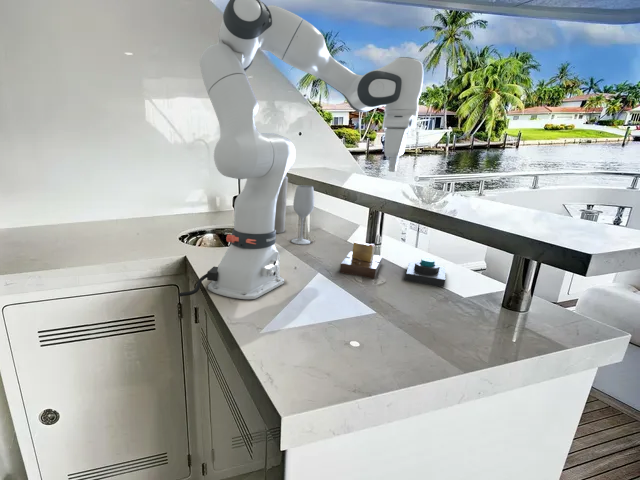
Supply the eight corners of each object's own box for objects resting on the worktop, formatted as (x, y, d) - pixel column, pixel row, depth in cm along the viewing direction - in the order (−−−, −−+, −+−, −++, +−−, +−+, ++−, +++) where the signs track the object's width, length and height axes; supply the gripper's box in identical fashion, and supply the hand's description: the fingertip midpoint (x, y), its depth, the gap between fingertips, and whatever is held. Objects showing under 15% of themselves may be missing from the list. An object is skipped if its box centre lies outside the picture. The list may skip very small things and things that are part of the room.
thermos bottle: (261, 230, 160) (264, 162, 151) (272, 227, 166) (276, 161, 157) (277, 234, 156) (281, 163, 146) (288, 230, 161) (292, 162, 152)
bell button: (433, 268, 108) (435, 262, 108) (420, 266, 110) (421, 260, 109) (434, 264, 111) (435, 259, 111) (420, 262, 113) (421, 257, 112)
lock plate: (374, 278, 110) (376, 268, 108) (339, 272, 114) (340, 262, 113) (381, 265, 121) (382, 255, 120) (349, 259, 126) (350, 250, 125)
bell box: (443, 287, 105) (446, 273, 103) (405, 280, 109) (407, 267, 107) (443, 273, 115) (446, 261, 113) (408, 268, 119) (410, 256, 118)
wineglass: (312, 244, 142) (317, 188, 135) (291, 244, 142) (295, 187, 135) (309, 239, 149) (313, 185, 142) (289, 238, 149) (293, 184, 142)
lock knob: (351, 257, 118) (353, 241, 116) (354, 256, 119) (356, 240, 117) (370, 262, 114) (372, 245, 112) (373, 260, 115) (375, 244, 114)
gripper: (391, 122, 119) (385, 168, 123) (383, 120, 101) (376, 173, 106) (413, 123, 116) (406, 169, 120) (409, 120, 99) (400, 174, 103)
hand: (392, 171), depth 113 cm, fingers closed
